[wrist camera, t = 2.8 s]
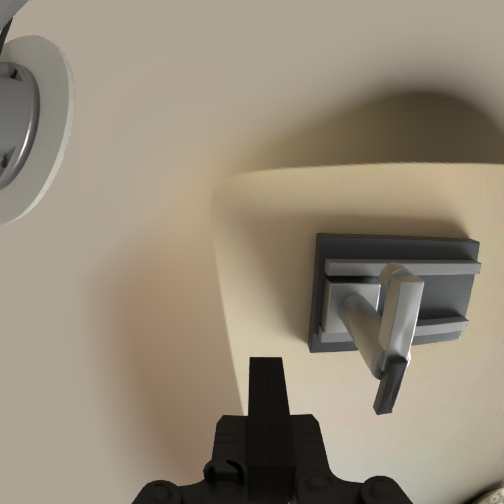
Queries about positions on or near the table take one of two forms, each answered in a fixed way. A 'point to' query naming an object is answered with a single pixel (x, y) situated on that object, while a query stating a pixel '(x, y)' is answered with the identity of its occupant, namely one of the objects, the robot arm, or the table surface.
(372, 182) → the table surface
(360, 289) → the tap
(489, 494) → the planter
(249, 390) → the robot arm
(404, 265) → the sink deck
